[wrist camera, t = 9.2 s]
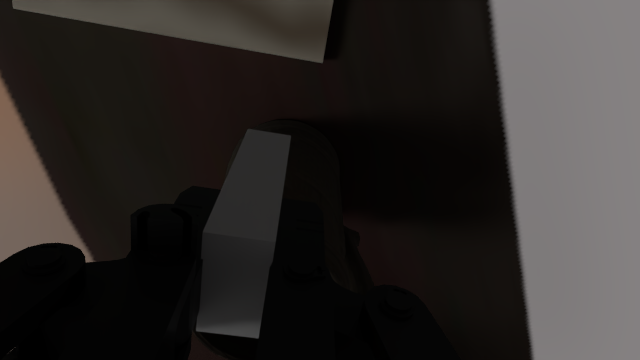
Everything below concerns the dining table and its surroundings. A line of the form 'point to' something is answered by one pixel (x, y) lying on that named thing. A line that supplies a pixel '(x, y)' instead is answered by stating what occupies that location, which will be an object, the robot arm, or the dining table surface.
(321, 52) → the pivot plate
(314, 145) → the beer stein
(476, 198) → the dining table surface
